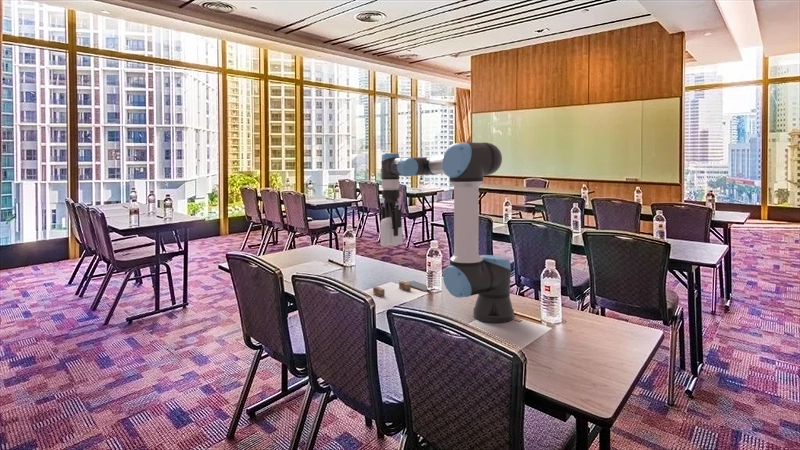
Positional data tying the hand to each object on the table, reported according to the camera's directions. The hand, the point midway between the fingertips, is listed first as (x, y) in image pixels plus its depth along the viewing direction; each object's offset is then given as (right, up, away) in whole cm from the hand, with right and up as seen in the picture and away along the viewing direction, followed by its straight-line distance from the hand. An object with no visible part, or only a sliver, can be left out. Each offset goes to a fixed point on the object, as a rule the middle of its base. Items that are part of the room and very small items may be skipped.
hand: (391, 242), depth 218 cm
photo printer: (0, -1, 0) cm, 1 cm away
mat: (+12, -21, +12) cm, 27 cm away
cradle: (0, -22, +3) cm, 22 cm away
